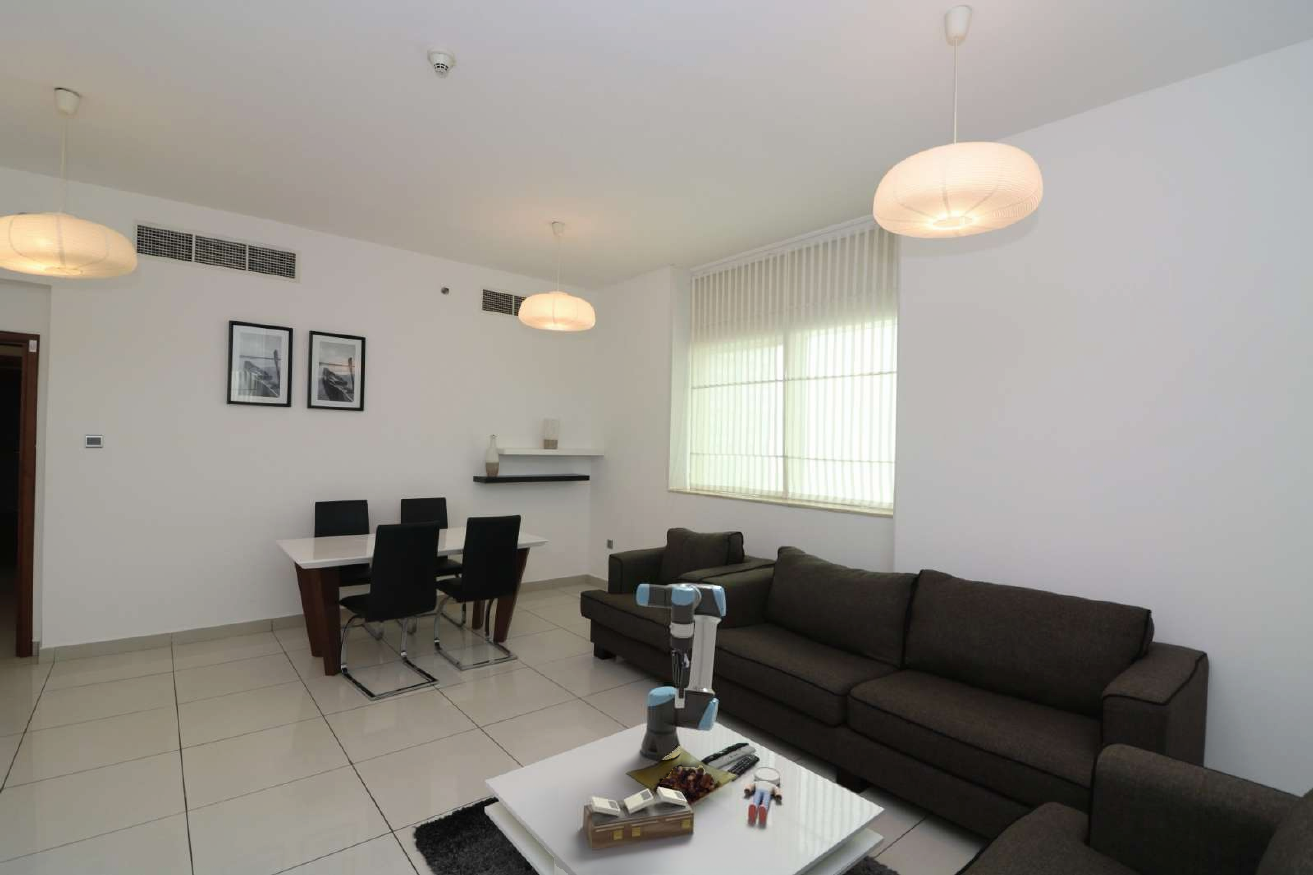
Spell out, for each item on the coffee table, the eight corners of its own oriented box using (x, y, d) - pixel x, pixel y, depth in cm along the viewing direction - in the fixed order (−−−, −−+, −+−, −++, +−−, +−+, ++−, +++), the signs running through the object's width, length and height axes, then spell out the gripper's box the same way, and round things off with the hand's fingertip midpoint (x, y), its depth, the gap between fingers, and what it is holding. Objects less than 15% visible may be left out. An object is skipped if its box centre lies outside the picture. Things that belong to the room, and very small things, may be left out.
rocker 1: (589, 800, 184) (591, 796, 184) (614, 805, 187) (615, 800, 187) (593, 811, 179) (595, 806, 179) (619, 815, 181) (620, 810, 181)
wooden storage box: (583, 826, 187) (584, 801, 187) (679, 811, 196) (680, 788, 197) (592, 850, 175) (593, 824, 175) (693, 833, 185) (694, 809, 185)
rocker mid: (624, 804, 188) (623, 799, 188) (649, 792, 190) (647, 788, 190) (629, 814, 182) (628, 809, 182) (654, 802, 185) (653, 797, 185)
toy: (778, 809, 191) (787, 762, 220) (737, 801, 195) (751, 756, 223) (777, 827, 191) (786, 778, 219) (737, 819, 194) (751, 772, 223)
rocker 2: (656, 791, 191) (658, 786, 191) (679, 796, 193) (680, 791, 193) (662, 800, 186) (664, 796, 186) (685, 806, 188) (687, 801, 188)
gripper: (664, 630, 210) (662, 700, 209) (677, 641, 197) (675, 716, 196) (685, 628, 212) (683, 698, 211) (699, 639, 200) (697, 714, 199)
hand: (679, 707), depth 204 cm, fingers closed
